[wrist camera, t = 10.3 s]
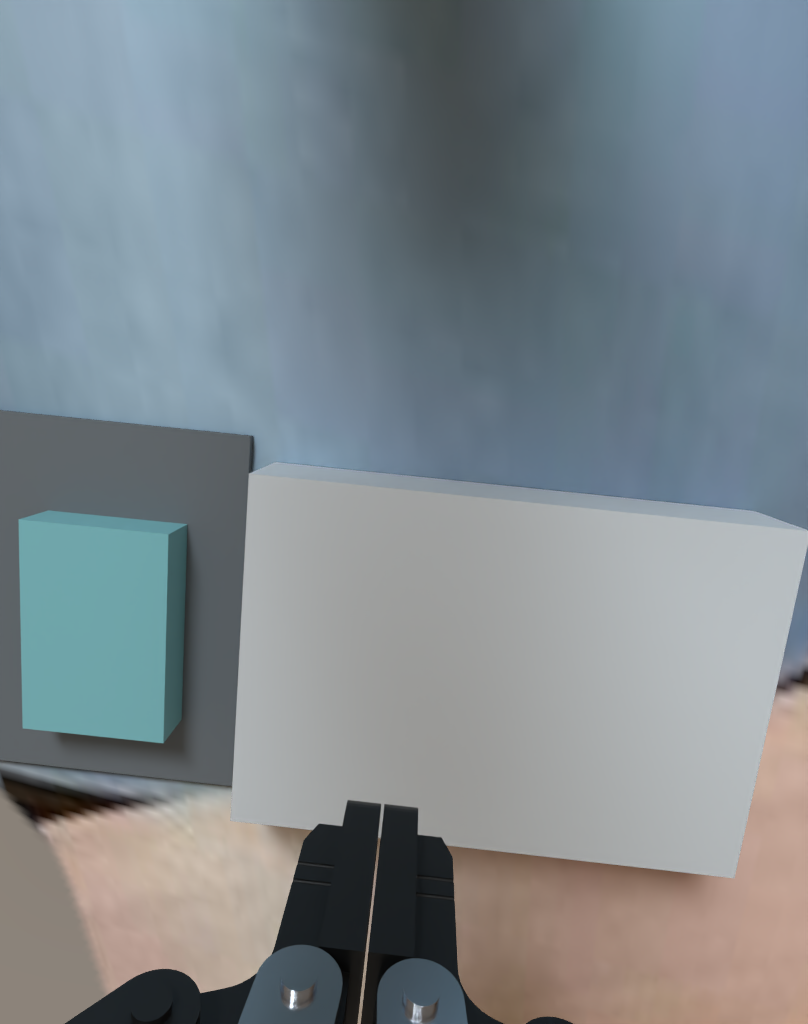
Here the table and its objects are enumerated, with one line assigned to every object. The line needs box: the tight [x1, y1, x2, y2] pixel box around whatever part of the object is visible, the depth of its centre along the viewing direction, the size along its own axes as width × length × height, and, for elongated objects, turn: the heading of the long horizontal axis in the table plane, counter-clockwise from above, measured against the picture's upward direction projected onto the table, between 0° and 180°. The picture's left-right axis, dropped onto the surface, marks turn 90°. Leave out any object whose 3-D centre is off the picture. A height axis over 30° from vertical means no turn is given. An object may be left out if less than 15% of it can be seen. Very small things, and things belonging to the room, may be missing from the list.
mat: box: [0, 410, 253, 786], centre depth 28 cm, size 16×12×1 cm
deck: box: [230, 462, 808, 878], centre depth 26 cm, size 14×20×4 cm
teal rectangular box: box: [19, 510, 187, 743], centre depth 27 cm, size 9×6×2 cm, turn 175°
